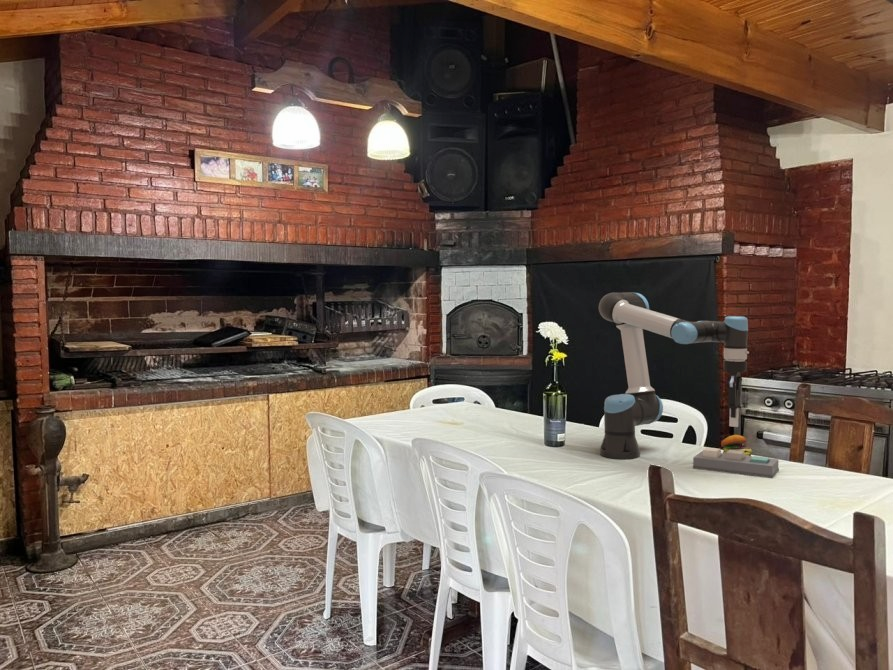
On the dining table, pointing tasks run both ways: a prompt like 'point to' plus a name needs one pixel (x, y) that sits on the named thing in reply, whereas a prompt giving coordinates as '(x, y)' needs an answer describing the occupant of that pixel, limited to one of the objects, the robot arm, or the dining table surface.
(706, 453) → the key ivory
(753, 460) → the key teal
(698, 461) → the keypad base
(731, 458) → the key grey
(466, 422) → the dining table surface
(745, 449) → the cheeseburger
